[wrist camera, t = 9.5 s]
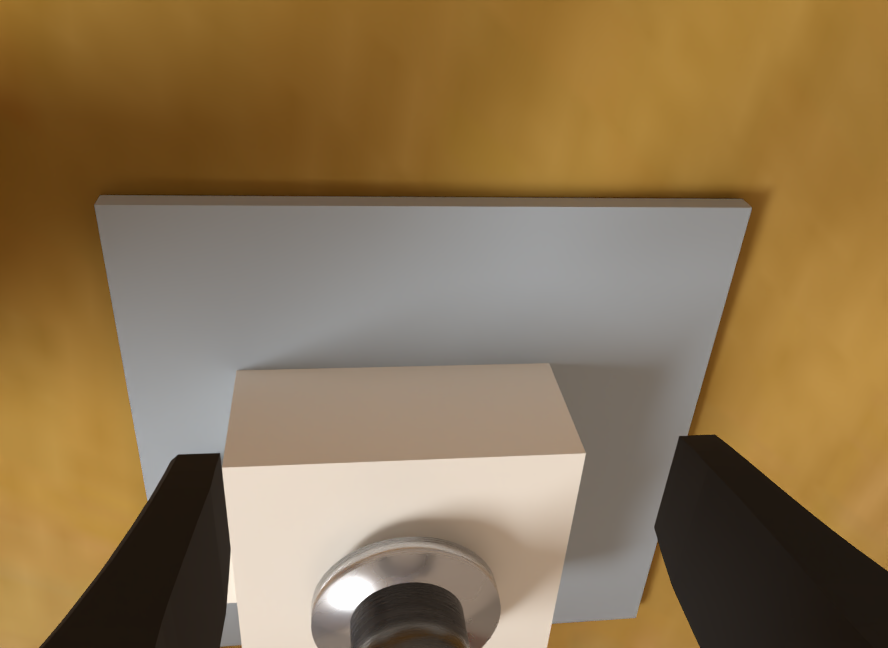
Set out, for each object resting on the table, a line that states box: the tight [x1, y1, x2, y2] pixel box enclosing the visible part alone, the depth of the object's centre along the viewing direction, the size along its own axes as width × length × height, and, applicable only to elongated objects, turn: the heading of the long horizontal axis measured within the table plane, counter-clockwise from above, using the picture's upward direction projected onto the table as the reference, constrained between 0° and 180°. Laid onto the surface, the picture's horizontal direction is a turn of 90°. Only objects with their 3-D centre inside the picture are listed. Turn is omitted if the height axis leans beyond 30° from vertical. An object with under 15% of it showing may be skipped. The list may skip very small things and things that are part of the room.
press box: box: [222, 363, 586, 648], centre depth 24 cm, size 9×11×4 cm
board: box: [94, 195, 752, 647], centre depth 26 cm, size 17×17×1 cm
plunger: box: [311, 537, 501, 648], centre depth 22 cm, size 5×5×8 cm
